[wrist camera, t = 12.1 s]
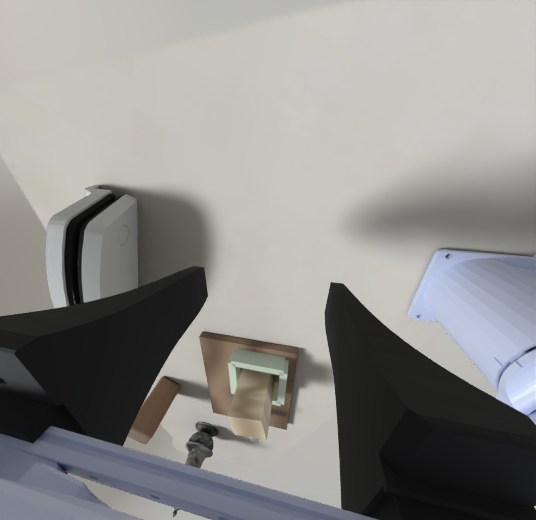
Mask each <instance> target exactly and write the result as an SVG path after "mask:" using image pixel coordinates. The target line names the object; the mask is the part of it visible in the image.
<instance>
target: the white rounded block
mask: <svg viewBox="0 0 536 520" xmlns="http://www.w3.org/2000/svg"><path fill="white" fill-rule="evenodd" d="M85 192H86V197H84V198H82V199H81V200H79V201H77V202H76V203H74V204H72V205H70V206H69V207H67V208H65V209H64V210H62V211H60V212H59V213H57V214H55V215H53V217H52V218H51V219H50V220H49V223H48V226H47V238H46V268H47V278H48V285H49V290H50V294H51V298H52V301H53V305H54V307H55V308H60V307H66V306H71V305H76V304H81V303H85V302H89V301H93V300H98V299H102V298H106V297H110V296H113V295H117V294H120V293H123V292H127V291H130V290H133V289H136V288H138V212H137V199H136V198H134V197H132V196H130V195H127V194H125V195H124V196H119V197H118V198H117V199H115V195H113V194H112V191H111V190H104V189H100V186H98V185H94V186H90V187H87V188H85Z"/></svg>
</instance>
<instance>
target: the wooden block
mask: <svg viewBox="0 0 536 520" xmlns="http://www.w3.org/2000/svg"><path fill="white" fill-rule="evenodd" d="M179 389H180V385H178V384H176V383H175V382H173V381H171V380H169V379H167V378H166V377H162V378H161V379H160V381H159V382H158V383H157V385H156V386H155V388H154V389H153V391H152V392H151V394H150V395H149V397H148V398H147V399H146V401H145V402H144V404H143V405H142V407H141V408H140V410H139V412H138V414H137V416H136V419H135V421H134V423H133V425H132V427H131V429H130V431H129V433H128V437H130V438H132V439H135V440H136V441H138V442H140V443H143V444H146V443H147V442H148V441H149V440H150V439H151V438H152V436H153V435H154V433H155V431H156V430H157V428H158V426H159V424H160V423H161V421H162V419H163V417H164V416H165V414H166V412H167V410H168V409H169V407H170V405H171V403H172V402H173V400H174V398H175V396H176V395H177V393H178V391H179Z"/></svg>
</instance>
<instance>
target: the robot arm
mask: <svg viewBox="0 0 536 520" xmlns="http://www.w3.org/2000/svg"><path fill="white" fill-rule="evenodd" d="M447 254H449V256H448V257H445V256H446V255H447ZM207 297H208V293H207V285H206V278H205V271H204V267H196V266H194V267H190V268H188V269H185V270H182V271H180V272H177V273H175V274H172V275H170V276H167V277H165V278H162V279H160V280H157V281H155V282H152V283H149V284H147V285H144V286H141V287H139V288H136V289H133V290H130V291H127V292H123V293H120V294H117V295H113V296H110V297H106V298H102V299H98V300H93V301H89V302H85V303H81V304H76V305H71V306H66V307H60V308H55V309H50V310H43V311H36V312H29V313H23V314H15V315H8V316H1V317H0V520H142V519H139V518H137V517H134V516H132V515H129V514H126V513H123V512H120V511H117V510H114V509H112V508H111V507H109V506H108V505H107V504H105V503H104V502H102V501H101V500H99V499H98V498H97V497H96V496H95V495H94V494H93V493H92V492H90V491H89V489H88V488H87V486H86V485H85V483H83V482H81V481H79V480H77V479H75V478H73V477H71V476H69V475H67V473H70V474H73V475H76V476H79V477H82V478H85V479H89V480H91V481H95V482H98V483H101V484H104V485H107V486H110V487H113V488H116V489H119V490H122V491H125V492H129V493H131V494H135V495H138V496H141V497H144V498H147V499H150V500H153V501H156V502H159V503H162V504H165V505H168V506H172V507H174V508H177V509H180V510H183V511H186V512H190V513H193V514H196V515H199V516H202V517H205V518H208V519H211V520H536V509H535V508H534V506H536V257H530V256H518V255H506V254H494V253H482V252H470V251H459V250H447V249H440V250H437V251H436V252H435V253H434V255H433V257H432V260H431V262H430V264H429V266H428V268H427V271H426V273H425V275H424V277H423V279H422V282H421V284H420V286H419V288H418V290H417V293H416V295H415V297H414V299H413V301H412V304H411V306H410V308H409V310H408V313H407V315H408V317H409V318H411V319H417V320H424V321H431V322H438V323H439V324H440V325H441V326H442V327H443V328H444V330H445V331H446V332H447V333H448V334H449V335H450V337H451V338H452V339H453V340H454V341H455V342H456V343H457V345H458V346H459V347H460V348H461V349H462V351H463V352H464V353H465V354H466V355H467V356H468V358H469V359H470V360H471V361H472V362H473V363H474V365H475V366H476V367H477V368H478V369H479V370H480V372H481V373H482V374H483V375H484V376H485V377H486V379H487V380H488V381H489V382H490V383H491V385H492V386H493V387H494V388H495V389H496V390H497V392H498V394H497V396H496V397H495V398H494V397H492V396H491V395H489V394H487V393H485V392H483V391H482V390H479V389H478V388H476V387H474V386H473V385H471V384H469V383H468V382H466V381H464V380H463V379H461V378H459V377H457V376H456V375H454V374H453V373H451V372H449V371H448V370H446V369H445V368H443V367H441V366H440V365H438V364H437V363H435V362H433V361H432V360H431V359H429V358H428V357H426V356H425V355H423V354H422V353H420V352H419V351H418V350H416V349H415V348H413V347H412V346H410V345H409V344H408V343H406V342H405V341H404V340H402V339H401V338H400V337H399V336H397V335H396V334H395V333H393V332H392V331H391V330H390V329H388V328H387V327H386V326H385V325H384V324H383V323H382V322H380V321H379V320H378V319H377V318H376V317H375V316H374V315H373V314H372V313H371V312H370V311H369V310H368V309H367V308H366V307H365V306H364V305H363V304H362V303H361V302H360V301H359V300H358V299H357V298H356V297H355V296H354V295H353V294H352V293H351V292H350V291H349V289H348V288H347V287H346V286H345V285H344V284H341V283H333V282H331V284H330V289H329V294H328V299H327V304H326V309H325V328H326V335H327V341H328V346H329V352H330V357H331V363H332V368H333V375H334V383H335V395H336V408H337V423H338V439H339V458H340V481H341V507H342V509H339V508H336V507H332V506H329V505H325V504H322V503H319V502H315V501H311V500H308V499H305V498H301V497H298V496H294V495H290V494H287V493H283V492H279V491H277V490H273V489H269V488H266V487H262V486H259V485H256V484H252V483H248V482H245V481H242V480H238V479H235V478H231V477H228V476H224V475H221V474H217V473H214V472H210V471H206V470H203V469H200V468H196V467H193V466H189V465H186V464H182V463H179V462H175V461H172V460H168V459H165V458H161V457H158V456H154V455H151V454H147V453H144V452H140V451H137V450H133V449H130V448H127V447H123V444H124V442H125V440H126V437H127V436H128V433H129V431H130V429H131V427H132V425H133V423H134V421H135V419H136V416H137V414H138V412H139V410H140V408H141V406H142V404H143V402H144V400H145V398H146V396H147V394H148V392H149V390H150V389H151V387H152V385H153V383H154V381H155V379H156V377H157V376H158V374H159V372H160V370H161V368H162V367H163V365H164V363H165V361H166V360H167V358H168V356H169V355H170V353H171V351H172V350H173V348H174V347H175V345H176V344H177V342H178V341H179V339H180V338H181V337H182V335H183V334H184V333H185V331H186V330H187V328H188V327H189V326H190V324H191V323H192V322H193V320H194V319H195V317H196V316H197V315H198V313H199V312H200V310H201V308H202V307H203V305H204V303H205V301H206V299H207ZM419 314H420V315H419ZM417 315H418V316H417Z"/></svg>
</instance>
